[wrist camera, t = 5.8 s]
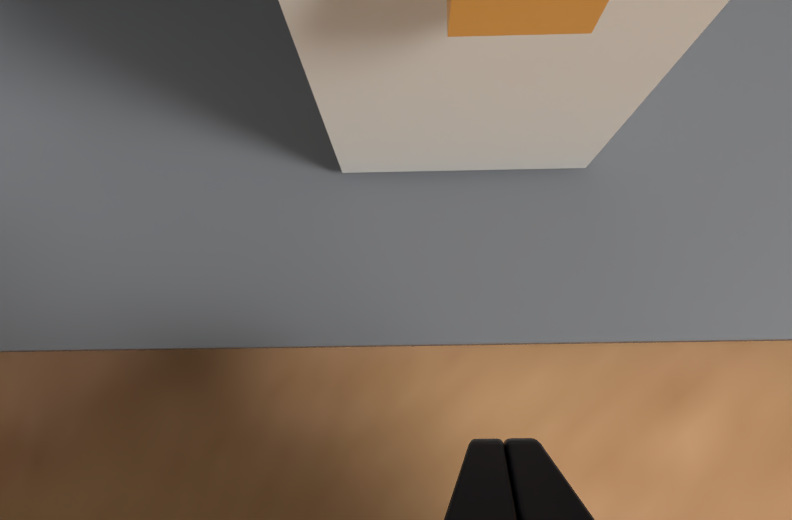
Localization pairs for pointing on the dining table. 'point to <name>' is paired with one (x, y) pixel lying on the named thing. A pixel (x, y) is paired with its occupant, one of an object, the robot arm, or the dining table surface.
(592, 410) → the dining table surface
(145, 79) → the mounting board
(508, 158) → the breaker module
